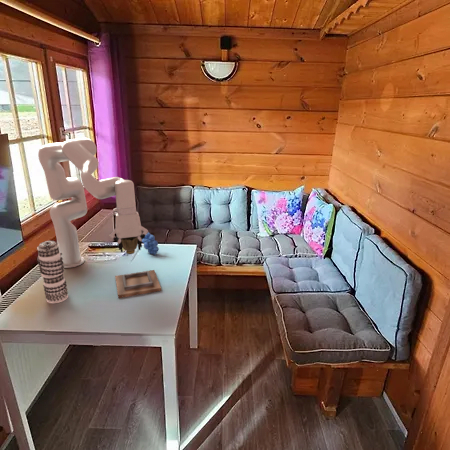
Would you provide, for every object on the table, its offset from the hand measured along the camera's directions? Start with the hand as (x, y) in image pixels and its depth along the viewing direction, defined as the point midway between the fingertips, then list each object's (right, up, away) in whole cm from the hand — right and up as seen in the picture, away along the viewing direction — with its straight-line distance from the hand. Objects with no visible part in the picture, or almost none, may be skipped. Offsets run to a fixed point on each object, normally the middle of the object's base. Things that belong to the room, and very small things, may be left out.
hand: (130, 249), depth 151 cm
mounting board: (+1, -16, +7) cm, 18 cm away
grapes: (0, -5, +38) cm, 38 cm away
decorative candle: (-30, -20, -3) cm, 36 cm away
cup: (0, -2, +1) cm, 2 cm away
